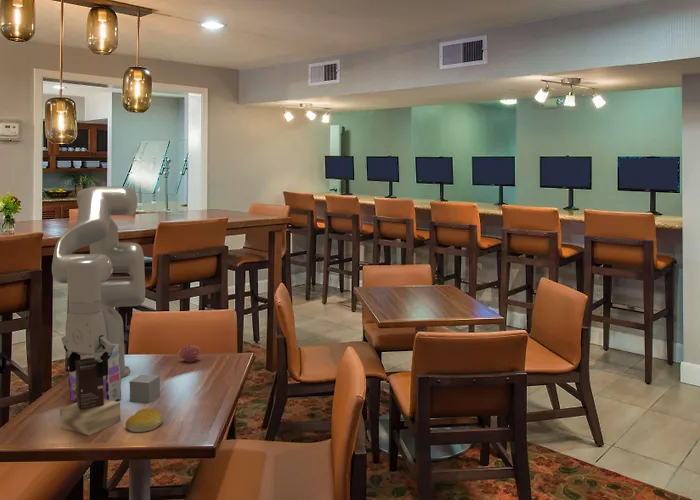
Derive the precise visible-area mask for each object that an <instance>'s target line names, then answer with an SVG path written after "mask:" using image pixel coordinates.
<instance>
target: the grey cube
mask: <svg viewBox="0 0 700 500" xmlns="http://www.w3.org/2000/svg"><path fill="white" fill-rule="evenodd" d="M160 376H161V375H152V374H151V375H150V374H149V375H148V374H139V375H138V376H136V377H135V378H133V379H131V380H129V383H128V384H129V402H131V403H142V404H143V403H144V404H150V403H152V402H153V401H155V400H156V399H157V398H159V397H160V396H161V382H160V381H161V380H160V379H161V377H160Z"/></svg>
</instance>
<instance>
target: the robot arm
mask: <svg viewBox="0 0 700 500" xmlns="http://www.w3.org/2000/svg"><path fill="white" fill-rule="evenodd" d="M76 204H77V207H78V209H77V210H78V211H77V218H76V224H75V225H74V226H72V227H71V228H70V229H69V230H67V231H66V232H65V233H64V234H63V235H62V236H61V237H60V238H59V239H58V240H57V242H56V243H55V246H54V249H53V250H54V251H53V257H52V263H51V274H52V275H51V276H52V277H53V279H54V281H56V282H57V283H59V284H63V285H65V284H67V292H68V293H67V294H68V295H67V296H68V310H69V312H67V315H66V319H65V335H64V336H63V337H61V341H62V345H63V349H64V351H65V353H66V357H67V356H68V358H69V372H74V371H76V368H75V361H76V360H81V357H80V354H78V353H81V354H87V355H92V354H94V355H95V357H96V359H97V360H98V362H96V374H97V377H98V378H100V377H103V376H106V375H108V360H109V359H110V356H111V355H112V351H113V349H114V345H113V344H119V360H120V379H121V378H123V377H125V376H128V375H129V374H130V373H131V368H130V367H129V366H127V365H126V361H125V341H124V340H125V339H124V338H125V337H124V334H125V333H124V321H123V317H122V315H121V313H119V312H118V311H117V310H116V309H115V308H120V307H122V308H123V307H137V306H140V305H142V304H143V303H144V302H145V298H146V276H145V275H146V274H145V256H144V252H143V250H144V249H143V248H142V246H141V245H140V244H138V243H136V242H120V240H119V227H118V225H117V223H116V221H114V220H113V219H112V217H111V216H132V215H134V214H135V213H136V211H137V208H138V196H137V193H136V190H134V189H133V188H131V187H128V186H90V187H88V188H87V187H86V188H83V189H80V190H78V191H77V194H76ZM87 246H89V253H82V254H81V253H79V254H77V253H75V254H72V253H73V252H75V251H77V250H79V249H82V248H85V247H87ZM112 273H113V274H114V273H115V274H116V273H126V274H129V276H112ZM99 353H102V356H101V355H100V354H99Z"/></svg>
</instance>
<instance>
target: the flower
mask: <svg viewBox="0 0 700 500" xmlns="http://www.w3.org/2000/svg"><path fill="white" fill-rule="evenodd" d="M201 350H202V349H201V346H199V347H198V345H195V344H192V345H191V344H189V345H188V346H187V345H185V346H184V347H183V346H181V348H179V351H177V355H178V358H180V359H183V360H184V362H187V363H192V362H195V361H196V359H197V358H199V357H198V356H200V353H201Z"/></svg>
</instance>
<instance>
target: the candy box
mask: <svg viewBox="0 0 700 500" xmlns="http://www.w3.org/2000/svg"><path fill="white" fill-rule="evenodd" d="M113 345H114V349H113V351H112V355H111V356H110V359H109V360H108V375H106V376H103V385H104V386H103V388H104V399H107V400H111V401H116V402H119V401H120V400H122V387H121V382H122V381H121V378H120V360H119V344H113ZM78 354H80V357H81V359H86V358H95V355H94V354H92V355H87V354H81V353H78ZM99 354H100V355H101V356H102V353H99ZM66 357H67V358H66V359H67V370H68V383H69V384H68V386H69V400H70V401H74V402H77V393H76V371H74V372H69V358H68V356H67V355H66Z"/></svg>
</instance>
